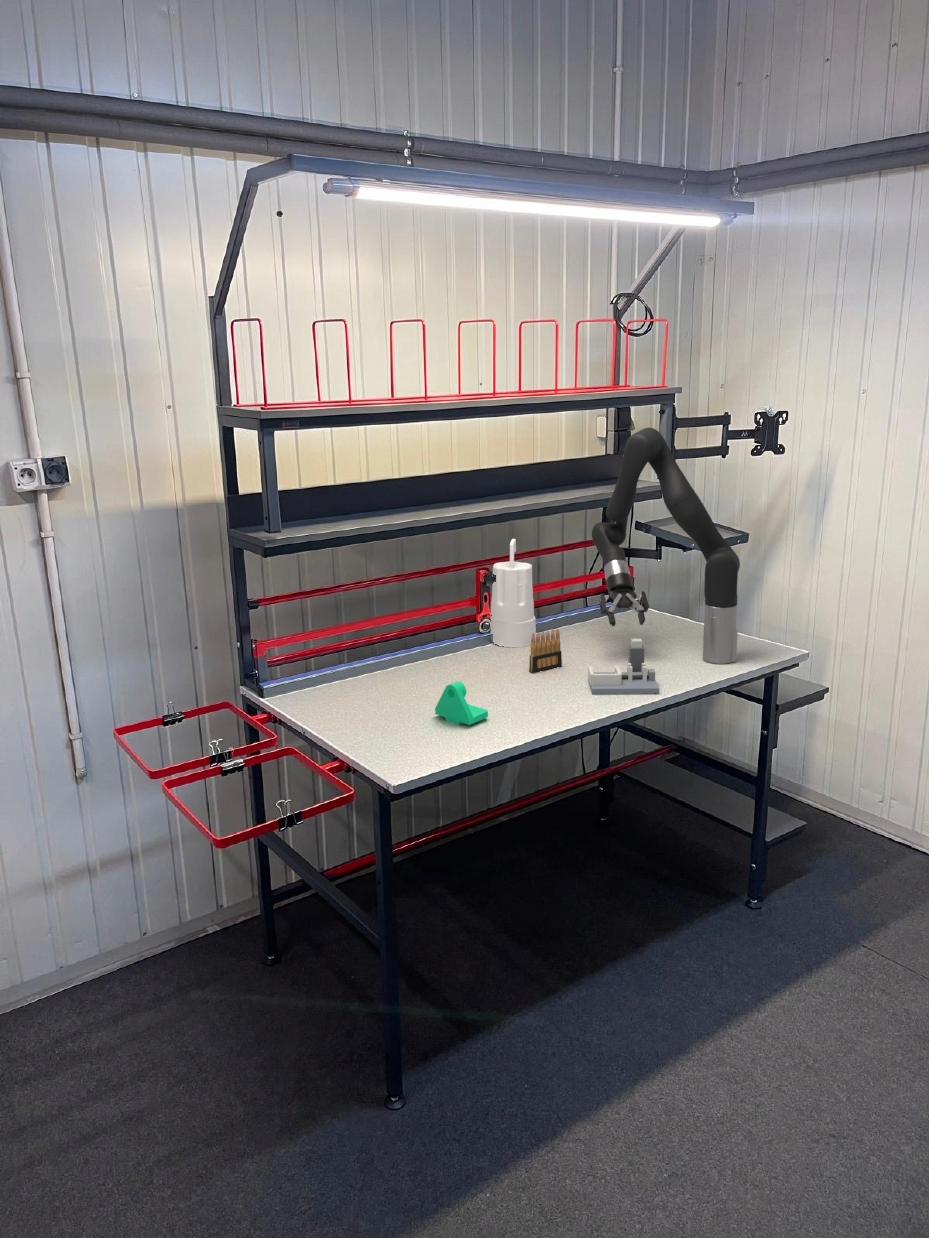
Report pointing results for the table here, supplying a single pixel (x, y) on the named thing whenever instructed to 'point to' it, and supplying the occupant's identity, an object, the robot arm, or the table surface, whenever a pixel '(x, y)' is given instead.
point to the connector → (636, 655)
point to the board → (623, 681)
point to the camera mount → (458, 706)
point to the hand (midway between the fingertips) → (628, 624)
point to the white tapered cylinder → (512, 603)
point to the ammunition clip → (545, 652)
